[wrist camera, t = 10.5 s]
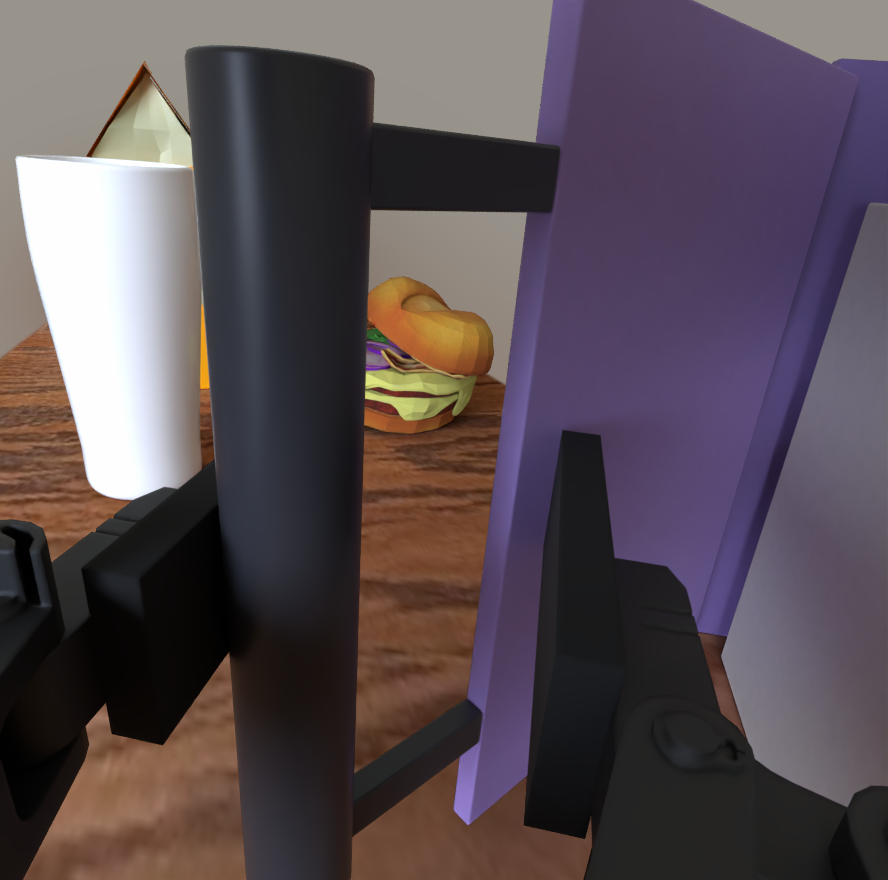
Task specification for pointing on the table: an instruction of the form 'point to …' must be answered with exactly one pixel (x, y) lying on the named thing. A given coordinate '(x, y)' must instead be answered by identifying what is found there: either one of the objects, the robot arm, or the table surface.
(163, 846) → the table surface
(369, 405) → the cheeseburger
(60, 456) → the table surface
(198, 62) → the folder cover
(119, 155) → the orange juice
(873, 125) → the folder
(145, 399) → the drinking glass
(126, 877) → the table surface
